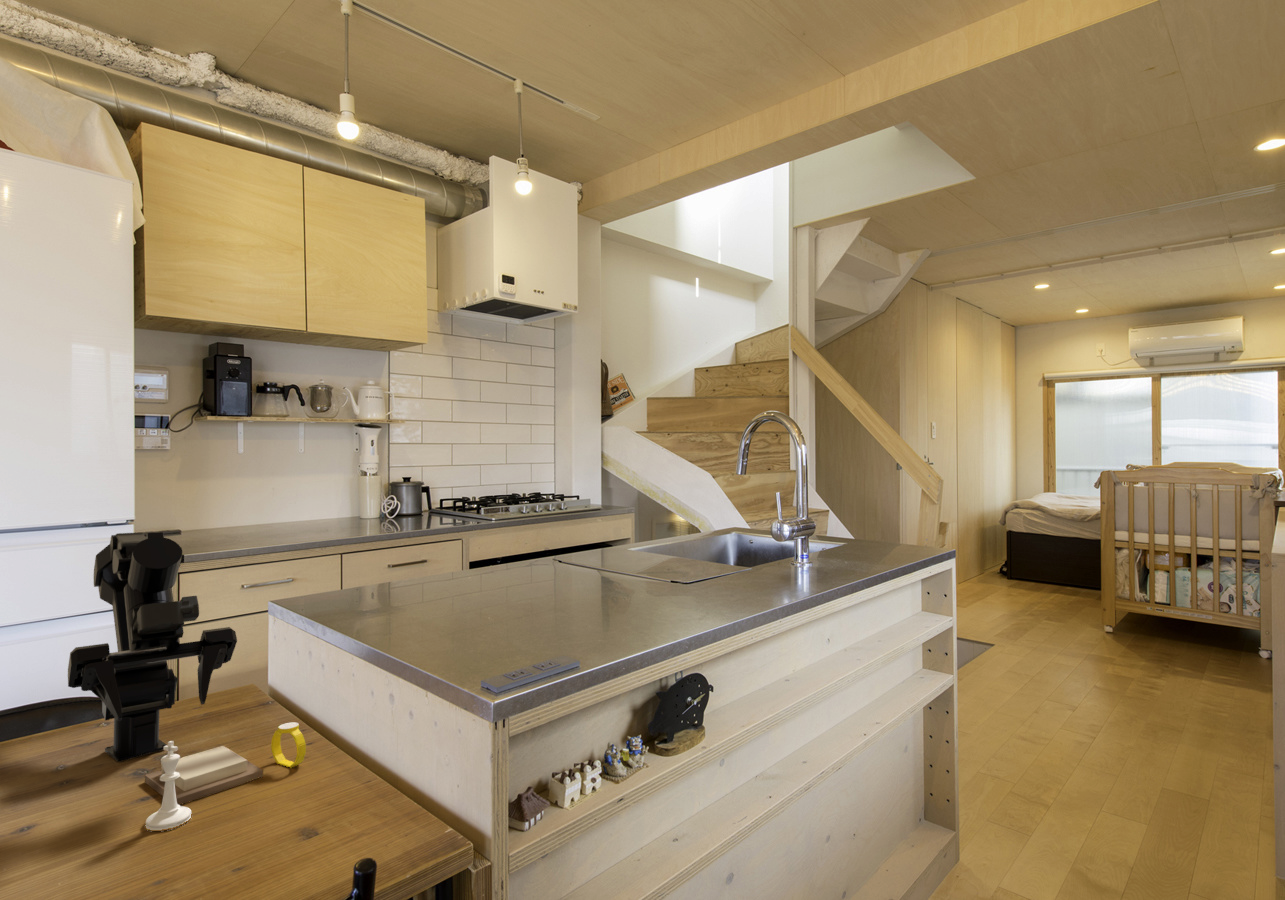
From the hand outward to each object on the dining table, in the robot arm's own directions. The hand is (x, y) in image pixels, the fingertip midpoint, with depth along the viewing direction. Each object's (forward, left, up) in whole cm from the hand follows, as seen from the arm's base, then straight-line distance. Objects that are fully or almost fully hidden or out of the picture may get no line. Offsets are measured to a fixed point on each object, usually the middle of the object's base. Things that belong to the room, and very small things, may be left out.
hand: (163, 710), depth 93 cm
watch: (+1, +16, -12) cm, 20 cm away
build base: (-3, +6, -12) cm, 14 cm away
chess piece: (+6, -1, -12) cm, 14 cm away
